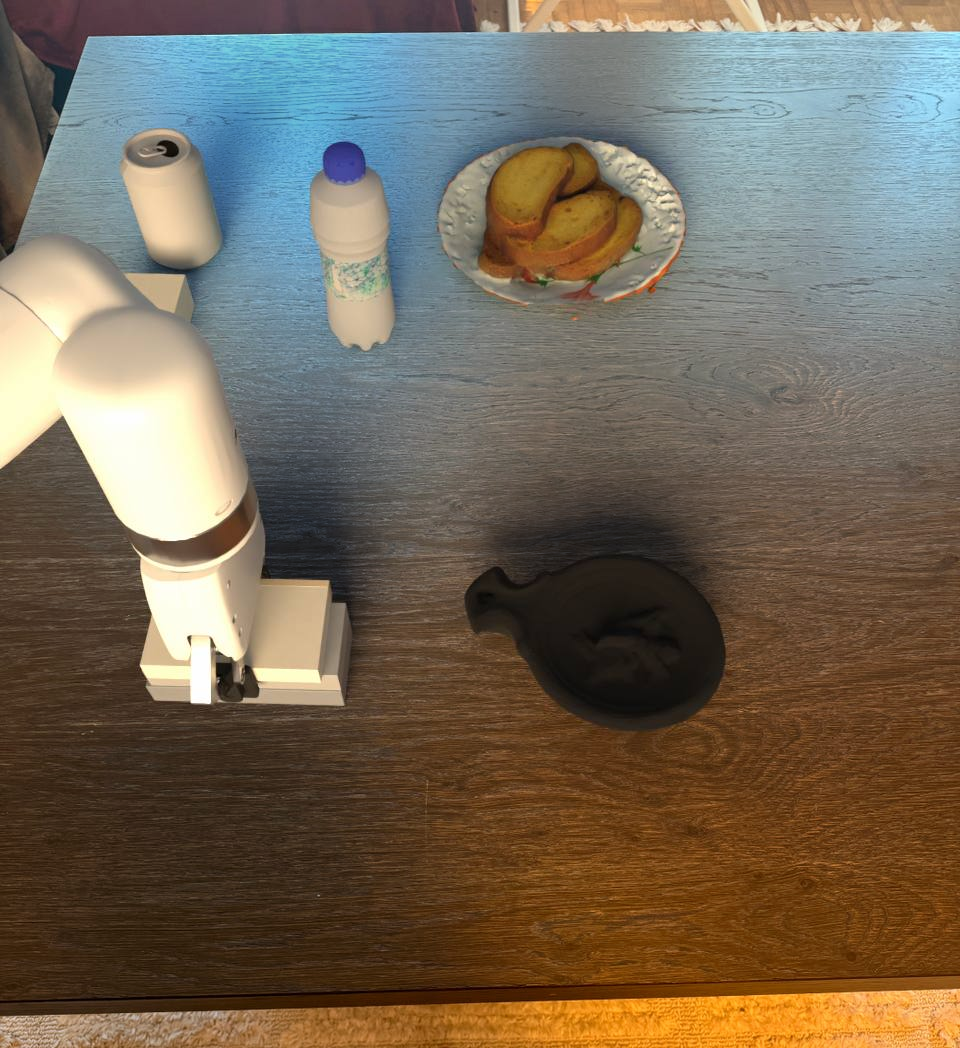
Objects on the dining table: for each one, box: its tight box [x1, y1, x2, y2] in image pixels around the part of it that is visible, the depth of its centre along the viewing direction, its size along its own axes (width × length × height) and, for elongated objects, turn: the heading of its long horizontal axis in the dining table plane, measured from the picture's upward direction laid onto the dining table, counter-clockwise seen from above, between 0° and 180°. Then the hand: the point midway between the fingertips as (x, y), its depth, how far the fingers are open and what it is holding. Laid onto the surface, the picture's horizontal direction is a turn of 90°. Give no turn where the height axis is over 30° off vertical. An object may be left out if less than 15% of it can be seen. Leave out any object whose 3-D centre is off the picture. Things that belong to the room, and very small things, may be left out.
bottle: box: [309, 140, 397, 352], centre depth 84 cm, size 7×7×20 cm
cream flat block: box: [139, 578, 333, 683], centre depth 67 cm, size 12×7×2 cm, turn 89°
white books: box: [123, 272, 196, 323], centre depth 89 cm, size 12×7×4 cm, turn 179°
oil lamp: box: [463, 553, 727, 733], centre depth 71 cm, size 15×20×5 cm
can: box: [119, 127, 223, 271], centre depth 93 cm, size 8×8×12 cm
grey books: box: [141, 602, 353, 707], centre depth 70 cm, size 14×6×5 cm, turn 89°
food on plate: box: [436, 136, 687, 321], centre depth 97 cm, size 25×25×7 cm
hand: (245, 642), depth 69 cm, fingers closed on cream flat block, 7 cm apart
